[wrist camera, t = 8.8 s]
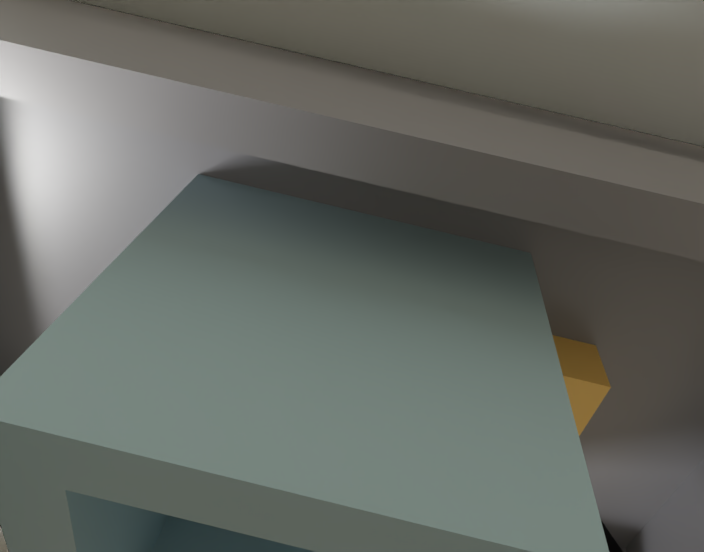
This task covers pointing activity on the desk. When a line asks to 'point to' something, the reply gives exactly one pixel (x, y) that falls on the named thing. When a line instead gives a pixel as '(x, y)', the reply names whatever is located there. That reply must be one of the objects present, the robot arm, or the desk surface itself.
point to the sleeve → (300, 394)
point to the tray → (369, 207)
